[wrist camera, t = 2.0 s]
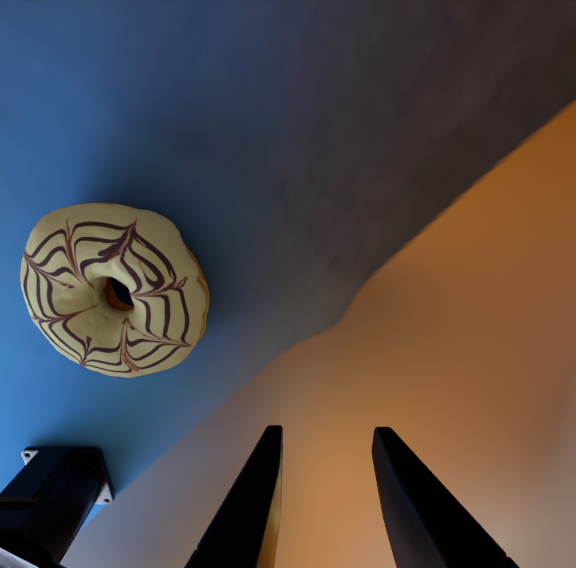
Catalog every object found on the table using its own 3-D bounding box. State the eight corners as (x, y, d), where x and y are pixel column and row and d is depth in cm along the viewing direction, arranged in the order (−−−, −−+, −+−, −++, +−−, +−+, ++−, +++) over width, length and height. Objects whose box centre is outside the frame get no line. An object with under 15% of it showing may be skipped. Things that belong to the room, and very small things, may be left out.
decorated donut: (182, 178, 17) (154, 181, 14) (236, 335, 21) (225, 369, 18) (22, 220, 18) (-41, 233, 15) (101, 363, 22) (65, 400, 19)
